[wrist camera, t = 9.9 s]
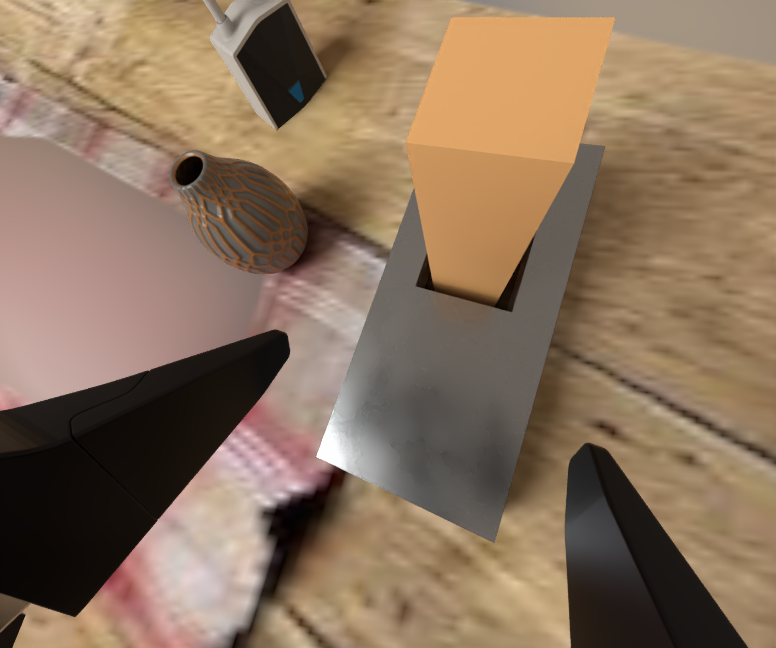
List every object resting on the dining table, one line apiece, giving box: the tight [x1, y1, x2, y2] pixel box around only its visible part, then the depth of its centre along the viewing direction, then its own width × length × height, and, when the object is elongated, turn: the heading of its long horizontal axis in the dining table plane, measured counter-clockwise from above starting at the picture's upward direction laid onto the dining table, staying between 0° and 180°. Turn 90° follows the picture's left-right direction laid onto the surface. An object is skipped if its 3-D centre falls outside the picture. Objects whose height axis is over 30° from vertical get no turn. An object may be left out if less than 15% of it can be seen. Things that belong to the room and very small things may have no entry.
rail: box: [317, 144, 605, 543], centre depth 18 cm, size 22×10×3 cm, turn 160°
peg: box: [405, 18, 615, 307], centre depth 13 cm, size 4×4×13 cm
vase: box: [170, 150, 308, 274], centre depth 19 cm, size 7×7×9 cm
